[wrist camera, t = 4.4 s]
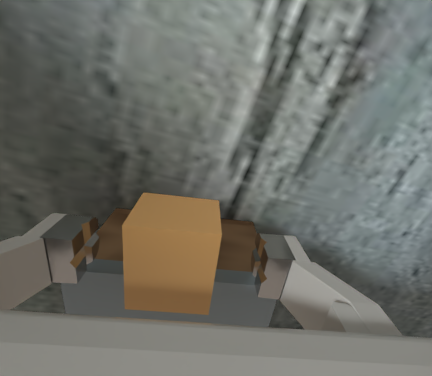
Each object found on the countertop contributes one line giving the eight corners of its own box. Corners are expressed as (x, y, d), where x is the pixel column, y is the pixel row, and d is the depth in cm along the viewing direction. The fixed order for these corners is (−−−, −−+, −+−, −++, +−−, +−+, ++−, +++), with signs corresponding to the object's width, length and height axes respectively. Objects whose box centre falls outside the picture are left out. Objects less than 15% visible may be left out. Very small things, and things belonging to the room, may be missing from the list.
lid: (95, 386, 15) (68, 457, 12) (70, 176, 10) (8, 214, 7) (235, 392, 16) (241, 461, 13) (289, 200, 10) (321, 244, 7)
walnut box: (120, 325, 19) (92, 400, 14) (116, 207, 15) (74, 260, 10) (228, 332, 20) (233, 405, 15) (252, 221, 16) (271, 276, 11)
